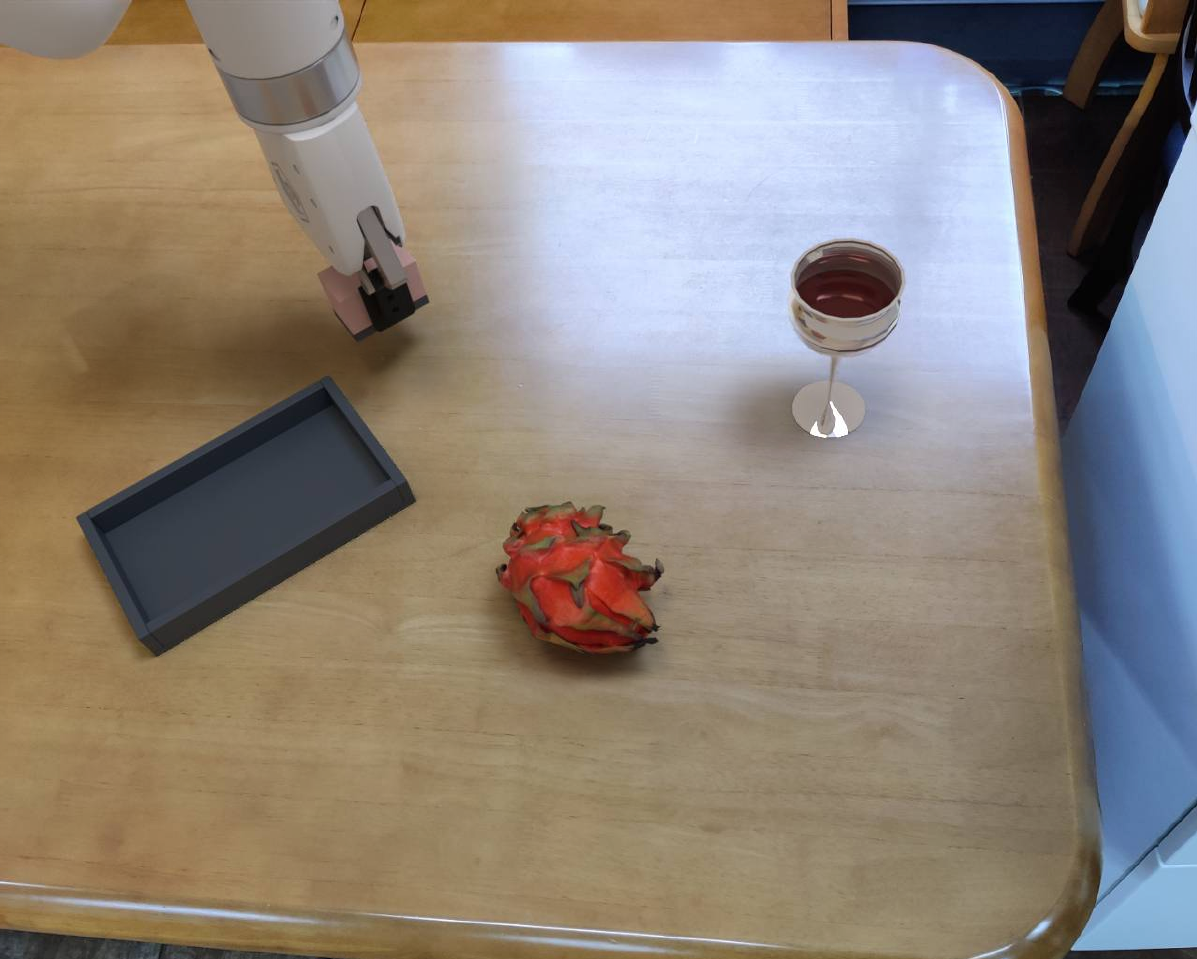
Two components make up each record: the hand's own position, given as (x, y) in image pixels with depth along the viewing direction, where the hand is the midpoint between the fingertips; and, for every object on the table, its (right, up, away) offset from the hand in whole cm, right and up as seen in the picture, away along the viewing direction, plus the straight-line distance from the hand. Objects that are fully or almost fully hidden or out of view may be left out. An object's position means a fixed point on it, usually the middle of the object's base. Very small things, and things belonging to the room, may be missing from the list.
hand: (380, 301), depth 75 cm
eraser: (0, 0, +1) cm, 1 cm away
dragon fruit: (+15, -22, -8) cm, 28 cm away
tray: (-8, -16, -2) cm, 18 cm away
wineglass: (+31, -8, -2) cm, 32 cm away
